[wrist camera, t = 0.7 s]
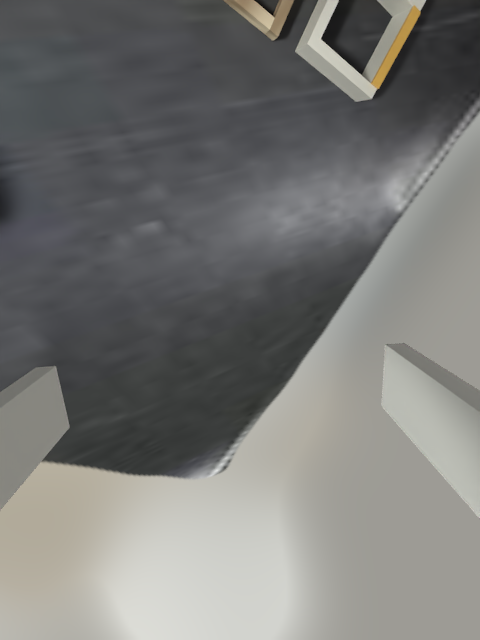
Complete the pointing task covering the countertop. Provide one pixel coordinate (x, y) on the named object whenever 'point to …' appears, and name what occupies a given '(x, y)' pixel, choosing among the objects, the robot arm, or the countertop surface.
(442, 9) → the countertop surface
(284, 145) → the countertop surface
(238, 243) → the countertop surface
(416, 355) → the robot arm
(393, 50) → the white hollow tray
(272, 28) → the tray
